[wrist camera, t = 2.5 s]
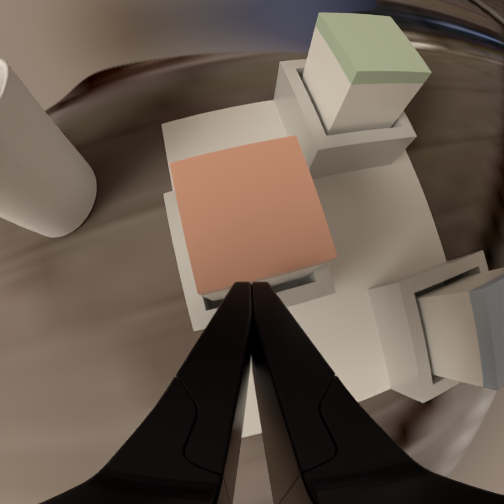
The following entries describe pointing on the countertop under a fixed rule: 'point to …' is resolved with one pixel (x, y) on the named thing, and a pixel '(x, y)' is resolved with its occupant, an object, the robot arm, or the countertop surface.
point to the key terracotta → (251, 216)
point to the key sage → (361, 72)
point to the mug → (39, 166)
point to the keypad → (340, 242)
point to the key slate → (466, 329)
